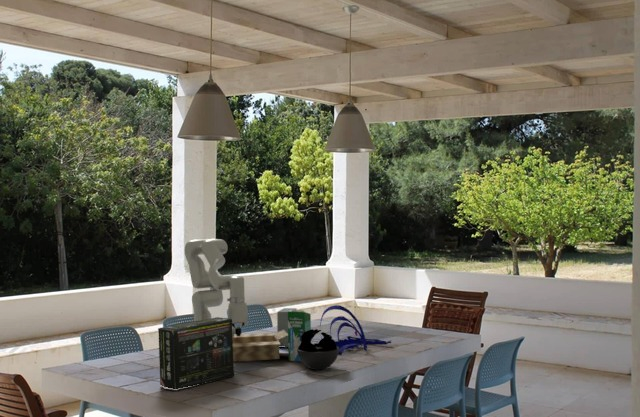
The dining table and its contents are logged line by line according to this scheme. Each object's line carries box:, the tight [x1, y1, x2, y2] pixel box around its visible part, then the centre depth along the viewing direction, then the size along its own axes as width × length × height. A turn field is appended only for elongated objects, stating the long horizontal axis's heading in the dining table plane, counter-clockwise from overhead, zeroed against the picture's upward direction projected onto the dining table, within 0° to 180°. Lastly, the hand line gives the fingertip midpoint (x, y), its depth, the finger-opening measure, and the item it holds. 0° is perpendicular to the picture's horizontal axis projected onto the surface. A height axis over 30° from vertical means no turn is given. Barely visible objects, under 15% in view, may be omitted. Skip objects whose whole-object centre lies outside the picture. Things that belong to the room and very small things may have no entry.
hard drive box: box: [276, 307, 298, 347], centre depth 416 cm, size 16×8×20 cm, turn 168°
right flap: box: [274, 330, 288, 340], centre depth 390 cm, size 1×17×6 cm
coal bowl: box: [297, 328, 339, 371], centre depth 356 cm, size 20×20×19 cm
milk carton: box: [287, 309, 312, 362], centre depth 379 cm, size 9×9×25 cm
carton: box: [233, 332, 281, 363], centre depth 387 cm, size 24×32×9 cm
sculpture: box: [319, 304, 392, 356], centre depth 406 cm, size 35×34×26 cm
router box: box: [157, 316, 235, 389], centre depth 335 cm, size 36×11×27 cm, turn 140°
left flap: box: [232, 326, 235, 339], centre depth 385 cm, size 1×17×6 cm, turn 11°
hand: (238, 335), depth 386 cm, fingers closed
